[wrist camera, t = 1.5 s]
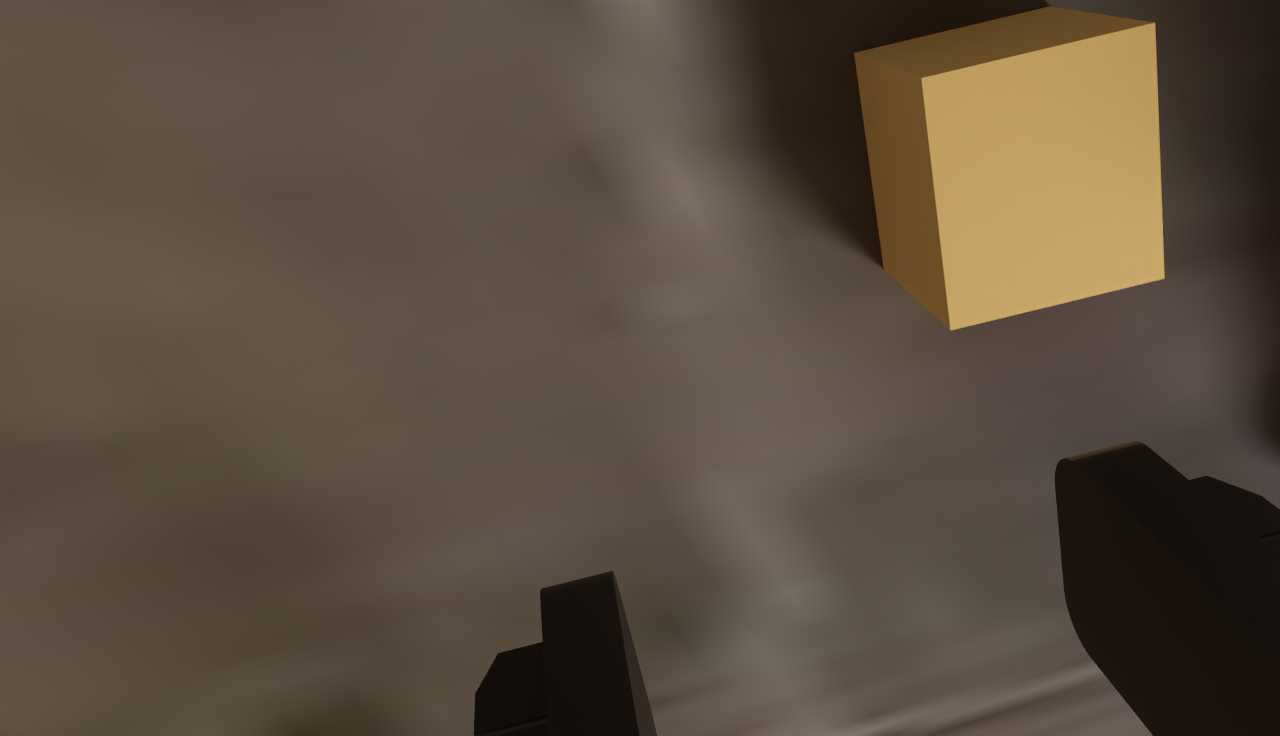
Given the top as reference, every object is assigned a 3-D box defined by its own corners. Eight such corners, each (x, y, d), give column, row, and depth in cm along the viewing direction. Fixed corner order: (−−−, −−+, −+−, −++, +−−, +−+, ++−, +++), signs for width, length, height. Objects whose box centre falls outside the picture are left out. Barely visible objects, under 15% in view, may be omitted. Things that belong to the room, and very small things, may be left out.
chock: (852, 52, 25) (921, 77, 20) (1048, 5, 25) (1155, 22, 21) (882, 267, 26) (950, 330, 22) (1064, 223, 27) (1164, 278, 22)
